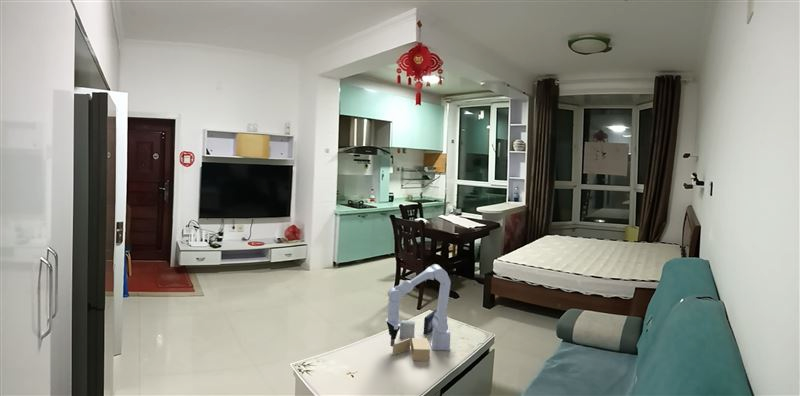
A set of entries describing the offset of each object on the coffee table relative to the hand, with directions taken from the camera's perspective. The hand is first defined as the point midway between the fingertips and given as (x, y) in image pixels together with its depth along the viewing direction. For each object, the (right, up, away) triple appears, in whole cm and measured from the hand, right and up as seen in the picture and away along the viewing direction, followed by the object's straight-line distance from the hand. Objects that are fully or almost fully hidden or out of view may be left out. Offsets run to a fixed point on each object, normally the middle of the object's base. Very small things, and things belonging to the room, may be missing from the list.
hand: (392, 336), depth 206 cm
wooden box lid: (+3, -7, 0) cm, 8 cm away
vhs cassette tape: (+23, -5, +28) cm, 37 cm away
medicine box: (+8, -6, +16) cm, 19 cm away
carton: (+14, -8, -3) cm, 16 cm away
